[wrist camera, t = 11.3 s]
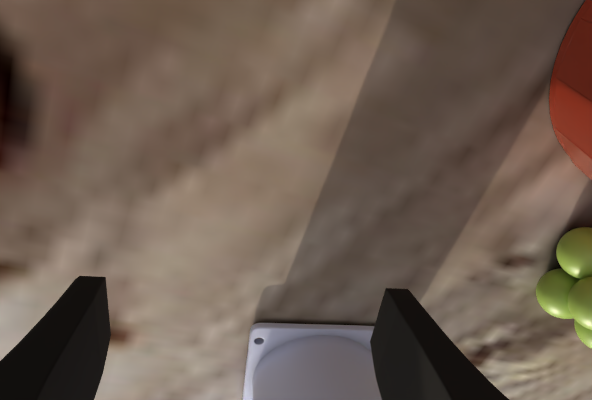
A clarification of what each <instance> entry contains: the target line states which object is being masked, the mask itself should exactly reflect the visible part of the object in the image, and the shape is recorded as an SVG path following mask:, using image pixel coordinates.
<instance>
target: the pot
mask: <svg viewBox="0 0 592 400" xmlns="http://www.w3.org/2000/svg"><path fill="white" fill-rule="evenodd" d="M549 105H550V116H551V121H552V125H553V129H554V132H555V134H556V137H557V139H558V141H559V143H560V144H561V146H562V148H563V149H564V151H565V152H566V153H567V154H568V155H569V156H570V158H571V160H572V162H573V163H574V164H575V166H577V167H578V168H579V169H580V170H581V171H582V172H583V173H584V174H585V175H587V176H588V177H589V178H590V179H591V180H592V0H586V1H585V2H584V3H583V5H582V6H581V8H580V9H579V11H578V13H577V14H576V16H575V18H574V19H573V21H572V23H571V24H570V26H569V28H568V31H567V33H566V35H565V37H564V39H563V41H562V43H561V46H560V49H559V52H558V55H557V57H556V60H555V63H554V68H553V72H552V77H551V82H550V93H549Z"/></svg>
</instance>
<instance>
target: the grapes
mask: <svg viewBox="0 0 592 400" xmlns="http://www.w3.org/2000/svg"><path fill="white" fill-rule="evenodd" d="M556 254H557V259H558V262H559V264H560V265H561V267H562V268H563V269H554V270H551V271H549V272H547V273H546V274H544V275H543V276H542V277H541V278H540V280H539V282H538V284H537V288H536V295H537V299H538V302H539V304H540V305H541V307H542V308H543V309H544V310H545V311H546V312H547V313H549V314H551V315H552V316H555V317H558V318H563V319H570V318H574V319H575V321H574V324H575V330H576V333H577V335H578V337H579V338H580V339H581V341H582V342H583V343H584V344H585V345H587V346H588V347H589V348H591V349H592V228H589V227H580V228H576V229H573V230H571V231H569V232H567V233H566V234H565V235H563V237H562V238H561V239H560V241H559V243H558V245H557V250H556Z"/></svg>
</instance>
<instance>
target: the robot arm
mask: <svg viewBox="0 0 592 400" xmlns="http://www.w3.org/2000/svg"><path fill="white" fill-rule="evenodd" d="M110 336H111V332H110V321H109V310H108V300H107V289H106V278H105V277H91V276H79V277H78V278H77V279H75V280H74V282H73V283H72V284H71V285H70V286H69V288H68V289H67V290H66V291H65V292H64V294H63V295H62V296H61V297H60V298H59V300H58V301H57V302H56V303H55V304H54V305H53V307H52V308H51V309H50V310H49V311H48V312H47V313H46V314H45V316H44V317H43V318H42V319H41V320H40V321H39V322H38V323H37V324H36V325H35V326H34V327H33V329H32V330H31V331H30V332H29V333H28V334H27V335H26V336H25V337H24V338H23V339H22V340H21V341H20V342H19V343H18V344H17V345H16V346H15V347H14V348H13V349H12V350H11V351H10V352H9V353H8V354H7V355H6V356H5V357H4V358H3V359H2V360H1V361H0V400H94V398H95V395H96V392H97V389H98V386H99V383H100V380H101V377H102V374H103V369H104V365H105V360H106V356H107V351H108V346H109V341H110ZM257 338H260V339H257ZM242 400H509V399H508V398H507V397H506V396H504V395H503V394H502V393H501V392H500V391H499V390H498V389H497V388H496V387H495V386H494V385H493V384H492V383H491V382H489V381H488V380H487V378H486V377H485V376H484V375H483V374H482V373H481V372H480V371H479V370H478V369H477V368H476V367H475V366H474V365H473V364H472V363H471V362H470V361H469V360H468V359H467V358H466V357H465V356H464V355H463V354H462V352H461V351H460V350H459V349H458V348H457V347H456V346H455V345H454V343H453V342H452V341H451V340H450V339H449V338H448V337H447V336H446V334H445V333H444V332H443V331H442V330H441V328H440V327H439V326H438V325H437V324H436V322H435V321H434V320H433V319H432V318H431V316H430V315H429V314H428V313H427V312H426V310H425V309H424V308H423V307H422V306H421V304H420V303H419V302H418V301H417V299H416V298H415V297H414V296H413V295H412V293H411V292H410V291H409V290H408V289H391V288H386V290H385V293H384V297H383V300H382V303H381V307H380V310H379V313H378V316H377V320H376V323H375V326H359V325H325V324H290V323H256V324H254V325H252V326H251V328H250V335H249V344H248V353H247V361H246V370H245V378H244V387H243V396H242Z"/></svg>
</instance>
